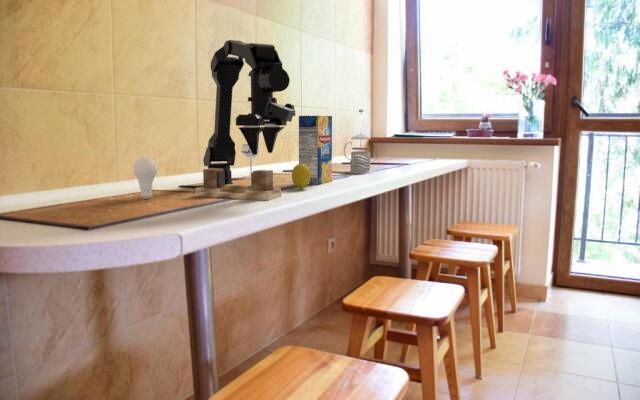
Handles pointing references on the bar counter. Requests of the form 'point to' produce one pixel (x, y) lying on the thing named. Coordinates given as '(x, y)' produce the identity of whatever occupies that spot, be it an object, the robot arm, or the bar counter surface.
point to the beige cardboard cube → (262, 180)
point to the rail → (239, 195)
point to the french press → (354, 160)
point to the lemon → (301, 175)
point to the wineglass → (249, 155)
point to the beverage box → (316, 147)
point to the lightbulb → (145, 174)
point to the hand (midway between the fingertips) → (262, 153)
